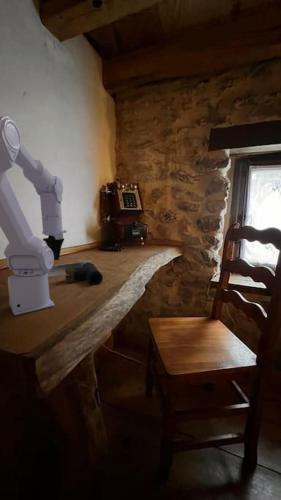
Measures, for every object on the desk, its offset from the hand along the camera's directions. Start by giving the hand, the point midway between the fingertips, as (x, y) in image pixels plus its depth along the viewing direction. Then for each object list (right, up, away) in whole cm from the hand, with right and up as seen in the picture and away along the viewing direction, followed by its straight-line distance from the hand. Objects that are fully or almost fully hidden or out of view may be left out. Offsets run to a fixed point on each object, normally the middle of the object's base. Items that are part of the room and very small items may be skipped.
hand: (55, 259), depth 73 cm
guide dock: (-1, -6, +18) cm, 20 cm away
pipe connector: (+6, -8, +11) cm, 15 cm away
